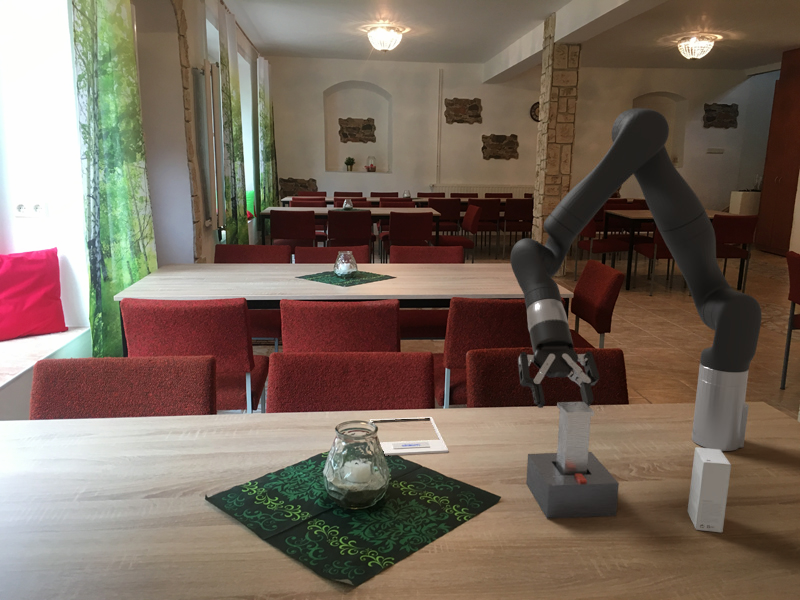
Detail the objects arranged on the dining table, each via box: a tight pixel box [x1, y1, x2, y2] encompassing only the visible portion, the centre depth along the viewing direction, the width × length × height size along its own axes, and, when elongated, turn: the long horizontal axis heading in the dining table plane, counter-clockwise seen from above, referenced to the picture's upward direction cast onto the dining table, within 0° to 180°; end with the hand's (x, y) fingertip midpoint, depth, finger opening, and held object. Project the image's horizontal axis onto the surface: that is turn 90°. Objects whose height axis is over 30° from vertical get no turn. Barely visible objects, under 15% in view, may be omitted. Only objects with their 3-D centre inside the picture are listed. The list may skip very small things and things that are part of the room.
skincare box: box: [687, 446, 732, 533], centre depth 105 cm, size 6×4×12 cm
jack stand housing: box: [525, 451, 620, 520], centre depth 112 cm, size 12×12×6 cm
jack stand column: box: [556, 401, 595, 476], centre depth 111 cm, size 5×5×17 cm
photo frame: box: [368, 416, 449, 457], centre depth 139 cm, size 15×1×18 cm
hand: (565, 405), depth 114 cm, fingers open, 8 cm apart
